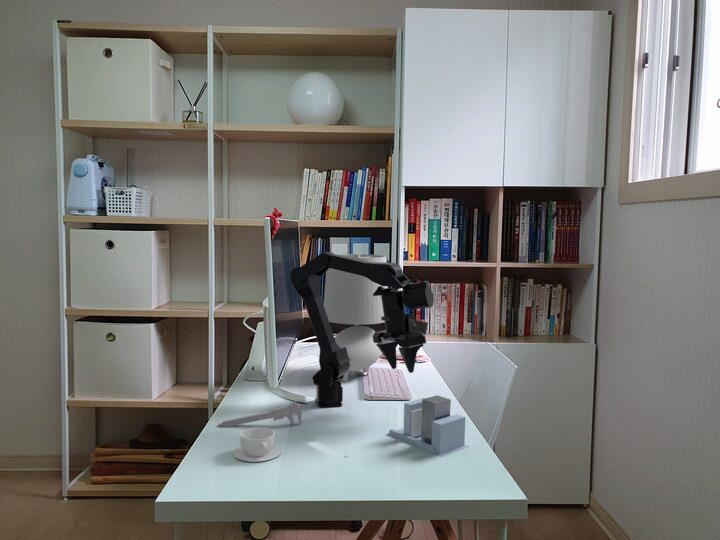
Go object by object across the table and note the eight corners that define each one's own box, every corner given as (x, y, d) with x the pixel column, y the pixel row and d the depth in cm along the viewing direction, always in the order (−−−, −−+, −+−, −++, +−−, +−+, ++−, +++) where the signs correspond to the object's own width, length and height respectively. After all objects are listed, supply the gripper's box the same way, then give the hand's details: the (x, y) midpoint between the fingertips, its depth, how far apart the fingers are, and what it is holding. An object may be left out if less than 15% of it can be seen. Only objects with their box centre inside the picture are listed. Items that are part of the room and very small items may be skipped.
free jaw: (403, 436, 135) (404, 402, 135) (422, 430, 139) (423, 397, 139) (410, 439, 134) (411, 405, 133) (429, 433, 138) (430, 400, 137)
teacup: (228, 450, 129) (228, 429, 129) (270, 442, 134) (271, 422, 134) (242, 467, 121) (242, 445, 120) (287, 458, 126) (287, 437, 125)
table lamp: (364, 390, 176) (366, 257, 173) (306, 379, 187) (307, 253, 184) (400, 374, 195) (402, 254, 192) (345, 365, 207) (347, 251, 203)
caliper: (301, 424, 147) (301, 400, 146) (301, 426, 146) (301, 401, 145) (217, 426, 144) (217, 401, 144) (217, 428, 143) (217, 402, 143)
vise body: (387, 438, 138) (388, 406, 137) (414, 430, 143) (415, 399, 143) (441, 461, 125) (442, 426, 124) (469, 451, 130) (470, 417, 130)
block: (420, 442, 132) (422, 399, 131) (436, 437, 135) (437, 395, 134) (434, 448, 129) (435, 403, 128) (449, 443, 132) (450, 399, 131)
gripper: (439, 306, 147) (448, 368, 148) (404, 306, 164) (411, 361, 165) (401, 313, 143) (410, 377, 143) (368, 312, 160) (376, 369, 160)
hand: (402, 370), depth 153 cm, fingers open, 9 cm apart
